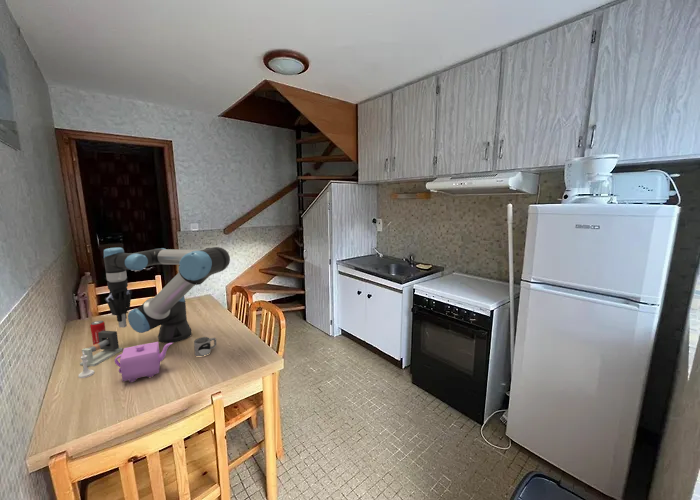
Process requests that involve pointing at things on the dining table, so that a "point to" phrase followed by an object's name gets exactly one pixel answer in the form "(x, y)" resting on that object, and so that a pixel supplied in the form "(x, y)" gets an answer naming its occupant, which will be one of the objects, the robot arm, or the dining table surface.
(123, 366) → the teapot
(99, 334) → the collar
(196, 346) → the mug
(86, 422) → the dining table surface
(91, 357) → the pipe rig
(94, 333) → the beverage can
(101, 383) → the dining table surface
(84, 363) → the chess piece
